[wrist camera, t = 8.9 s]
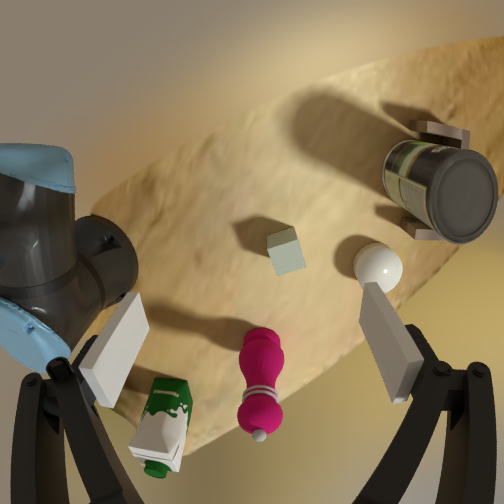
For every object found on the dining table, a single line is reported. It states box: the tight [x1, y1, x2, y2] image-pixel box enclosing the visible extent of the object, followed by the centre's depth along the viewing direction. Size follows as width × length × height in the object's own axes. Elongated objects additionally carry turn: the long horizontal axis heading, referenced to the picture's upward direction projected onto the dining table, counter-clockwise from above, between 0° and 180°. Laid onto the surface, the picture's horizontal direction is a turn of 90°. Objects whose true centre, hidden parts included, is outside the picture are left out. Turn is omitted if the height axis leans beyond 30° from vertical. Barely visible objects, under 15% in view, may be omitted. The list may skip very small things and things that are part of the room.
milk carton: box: [128, 378, 193, 478], centre depth 47 cm, size 9×9×20 cm
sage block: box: [267, 227, 306, 276], centre depth 40 cm, size 4×4×5 cm
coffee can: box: [382, 140, 498, 244], centre depth 31 cm, size 10×10×14 cm
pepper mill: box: [237, 328, 284, 442], centre depth 41 cm, size 7×7×20 cm
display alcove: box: [401, 120, 470, 241], centre depth 35 cm, size 8×16×5 cm, turn 0°
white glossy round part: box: [353, 242, 402, 293], centre depth 42 cm, size 7×7×4 cm
